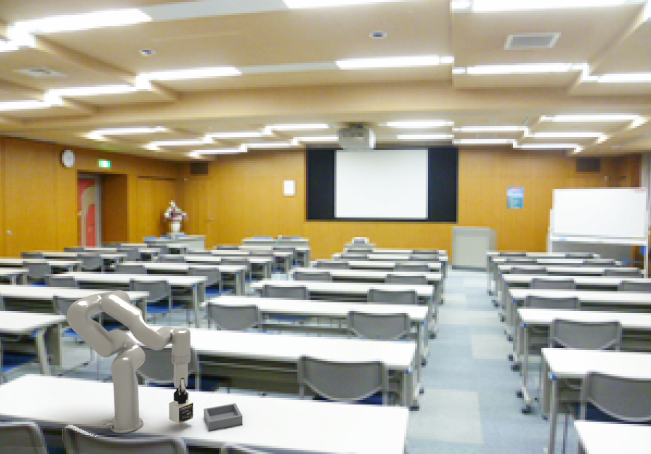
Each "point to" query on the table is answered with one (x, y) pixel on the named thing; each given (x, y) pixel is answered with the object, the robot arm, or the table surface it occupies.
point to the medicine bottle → (180, 409)
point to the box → (222, 417)
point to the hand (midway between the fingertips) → (181, 399)
